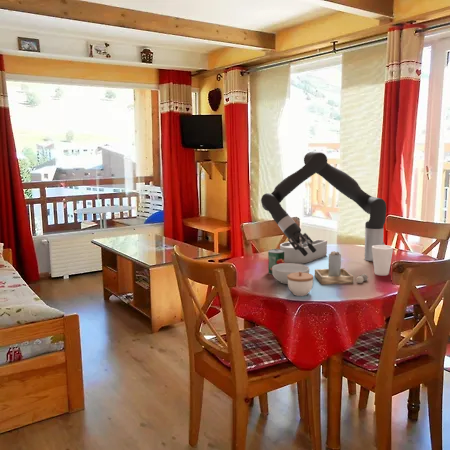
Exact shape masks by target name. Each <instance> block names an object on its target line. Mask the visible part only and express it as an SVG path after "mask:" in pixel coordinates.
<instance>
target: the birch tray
mask: <svg viewBox="0 0 450 450" xmlns="http://www.w3.org/2000/svg"><path fill="white" fill-rule="evenodd" d="M328 271H329V268H317V269H315V268H314V277H315V278H316V279H317V280H318V282H319V283H320V284H321V285H341V284H342V285H343V284H345V285H346V284H354V276H353V274H351V273H350V272H349V271H348V270H347V269H345V268H343V267H342V268H341V276H334V277H328Z"/></svg>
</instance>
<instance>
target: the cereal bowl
mask: <svg viewBox="0 0 450 450" xmlns="http://www.w3.org/2000/svg"><path fill="white" fill-rule="evenodd" d="M297 272H302V273H309V274H310V267H309V266H308V265H305V264H303V263H300V264H294V263H285V262H284V263H282V264H277V265H274V266H273V267H272V274H273V275H272V274H271V275H272V276H273V277H274V279H276V280H277V281H278V282H280V283H281V284H284V285H288V278H287V275H288V274H291V273H297Z"/></svg>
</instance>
